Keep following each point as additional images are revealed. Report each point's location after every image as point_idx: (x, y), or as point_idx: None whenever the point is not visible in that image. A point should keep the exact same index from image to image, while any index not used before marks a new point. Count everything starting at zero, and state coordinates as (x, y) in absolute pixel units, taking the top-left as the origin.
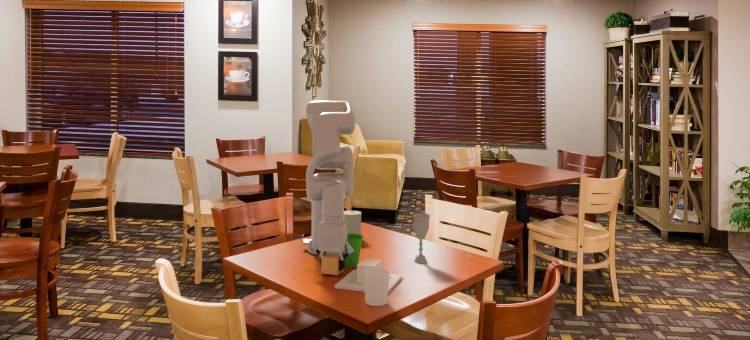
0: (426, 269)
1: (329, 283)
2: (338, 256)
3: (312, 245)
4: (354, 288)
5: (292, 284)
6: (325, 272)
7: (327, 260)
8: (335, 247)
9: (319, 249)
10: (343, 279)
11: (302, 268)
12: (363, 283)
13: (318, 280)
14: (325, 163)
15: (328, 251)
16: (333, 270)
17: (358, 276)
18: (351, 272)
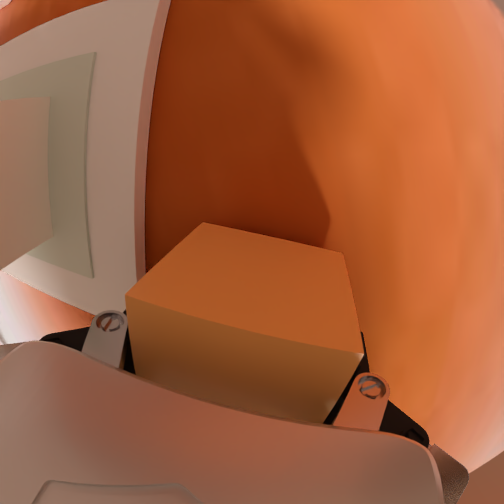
0: (5, 338)
1: (231, 66)
2: (148, 364)
3: (466, 484)
4: (60, 18)
5: (484, 37)
6: (306, 248)
7: (274, 307)
8: (60, 427)
9: (405, 446)
10: (127, 119)
11: (453, 355)
12: (26, 91)
13: (341, 121)
14: None
15: (234, 410)
16: (224, 242)
17: (17, 99)
18: (131, 285)
